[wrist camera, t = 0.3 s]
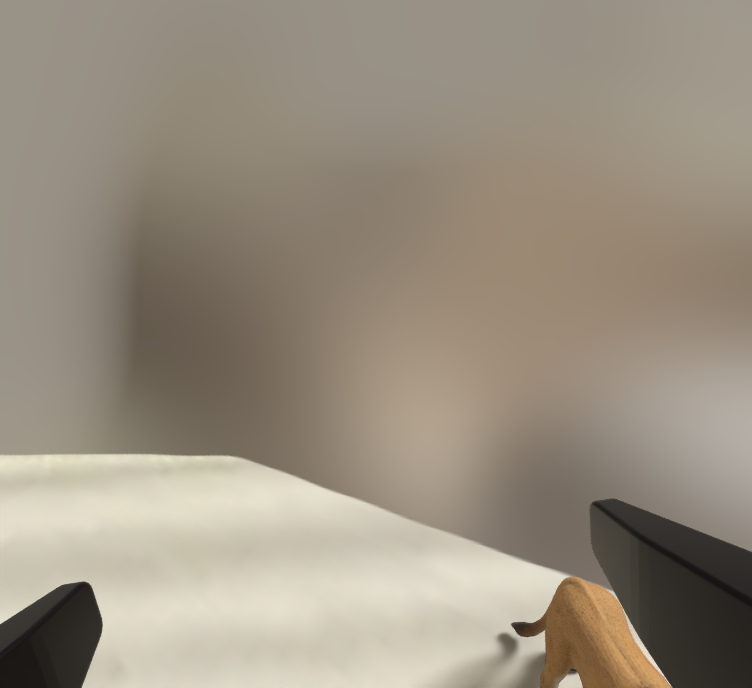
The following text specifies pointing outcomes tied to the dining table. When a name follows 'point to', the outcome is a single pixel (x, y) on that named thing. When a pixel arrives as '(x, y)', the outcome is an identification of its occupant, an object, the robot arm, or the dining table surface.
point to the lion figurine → (590, 640)
